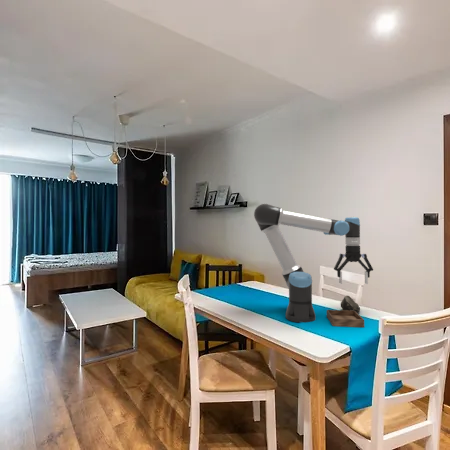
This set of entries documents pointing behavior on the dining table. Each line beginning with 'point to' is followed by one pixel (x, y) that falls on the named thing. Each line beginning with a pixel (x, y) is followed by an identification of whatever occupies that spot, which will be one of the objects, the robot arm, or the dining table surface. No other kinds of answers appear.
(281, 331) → the dining table surface
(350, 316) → the walnut tray
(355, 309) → the fossil
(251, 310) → the dining table surface
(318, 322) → the dining table surface
